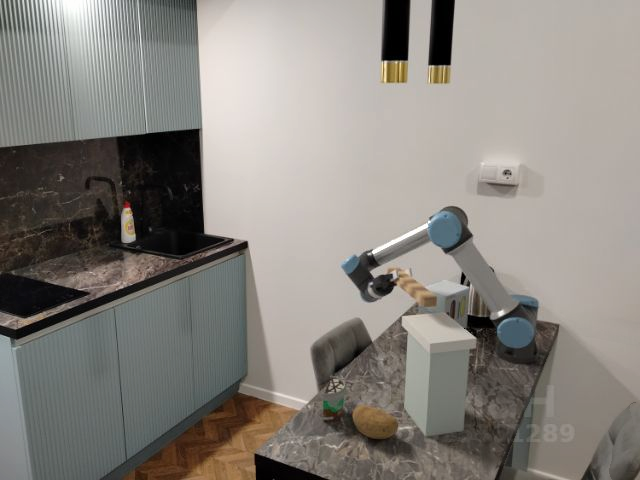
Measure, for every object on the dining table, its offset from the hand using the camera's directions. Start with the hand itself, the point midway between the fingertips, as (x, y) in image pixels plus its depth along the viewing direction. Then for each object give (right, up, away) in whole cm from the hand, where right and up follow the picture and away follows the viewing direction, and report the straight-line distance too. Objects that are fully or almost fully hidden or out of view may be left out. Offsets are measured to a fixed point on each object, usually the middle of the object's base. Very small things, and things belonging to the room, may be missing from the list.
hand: (404, 272), depth 195 cm
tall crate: (+7, -44, -14) cm, 46 cm away
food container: (-23, -43, -12) cm, 50 cm away
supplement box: (+23, -26, +52) cm, 62 cm away
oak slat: (+1, -5, -4) cm, 7 cm away
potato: (-12, -46, -23) cm, 53 cm away
